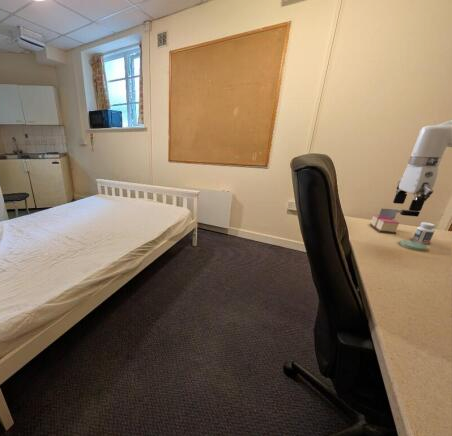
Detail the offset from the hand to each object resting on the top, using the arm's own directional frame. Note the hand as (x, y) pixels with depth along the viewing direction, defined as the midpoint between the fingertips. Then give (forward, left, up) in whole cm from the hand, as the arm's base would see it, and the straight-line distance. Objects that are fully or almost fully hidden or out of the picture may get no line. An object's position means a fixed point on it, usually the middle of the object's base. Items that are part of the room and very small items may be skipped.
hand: (405, 206), depth 86 cm
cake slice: (-11, -32, -19) cm, 39 cm away
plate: (-13, -10, -20) cm, 26 cm away
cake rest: (-11, -27, -19) cm, 35 cm away
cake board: (-11, -30, -20) cm, 37 cm away
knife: (-15, -30, -14) cm, 36 cm away
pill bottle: (-20, -17, -20) cm, 33 cm away
